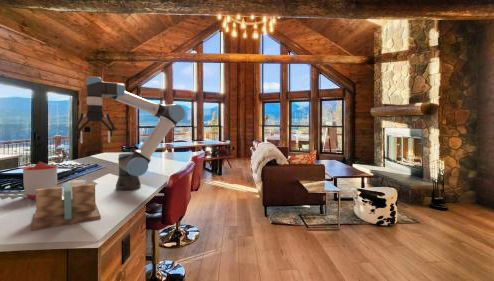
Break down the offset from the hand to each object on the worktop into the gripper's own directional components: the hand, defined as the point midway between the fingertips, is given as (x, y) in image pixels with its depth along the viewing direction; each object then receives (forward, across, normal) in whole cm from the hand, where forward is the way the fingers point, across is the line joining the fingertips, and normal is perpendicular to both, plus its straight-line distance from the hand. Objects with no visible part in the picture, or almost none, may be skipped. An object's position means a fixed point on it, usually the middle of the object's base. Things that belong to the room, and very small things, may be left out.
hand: (95, 142), depth 147 cm
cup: (+31, -11, +3) cm, 34 cm away
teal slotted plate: (+30, -15, -26) cm, 42 cm away
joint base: (+31, -15, -26) cm, 43 cm away
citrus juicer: (+31, -26, +20) cm, 45 cm away
